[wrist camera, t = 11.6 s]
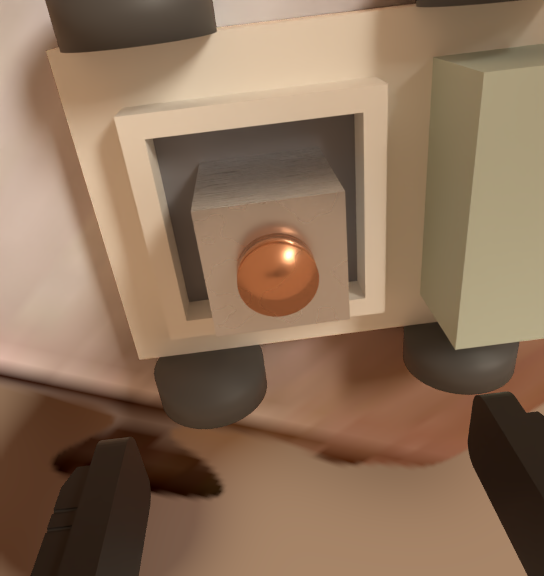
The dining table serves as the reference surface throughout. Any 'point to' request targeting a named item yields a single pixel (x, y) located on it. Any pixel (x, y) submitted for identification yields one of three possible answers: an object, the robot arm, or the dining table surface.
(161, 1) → the chassis
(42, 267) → the dining table surface
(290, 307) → the cube with copper knob
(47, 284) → the dining table surface
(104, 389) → the dining table surface
